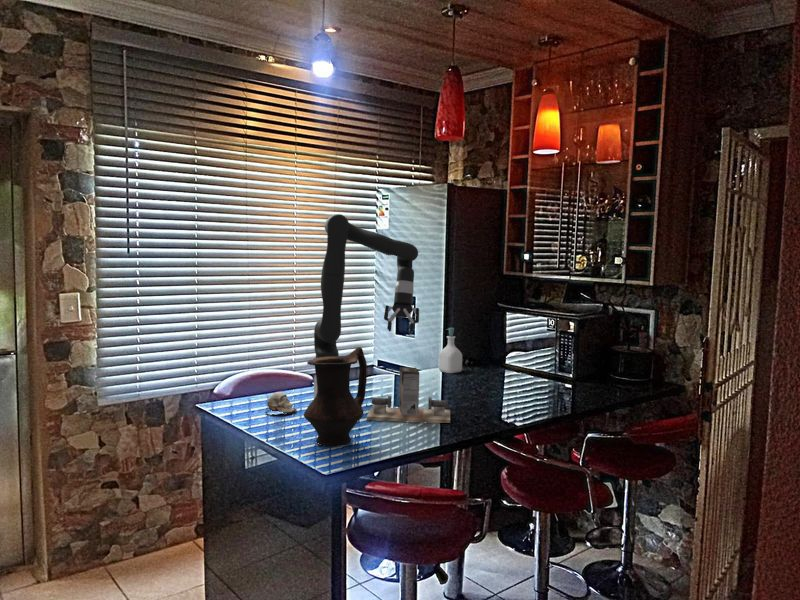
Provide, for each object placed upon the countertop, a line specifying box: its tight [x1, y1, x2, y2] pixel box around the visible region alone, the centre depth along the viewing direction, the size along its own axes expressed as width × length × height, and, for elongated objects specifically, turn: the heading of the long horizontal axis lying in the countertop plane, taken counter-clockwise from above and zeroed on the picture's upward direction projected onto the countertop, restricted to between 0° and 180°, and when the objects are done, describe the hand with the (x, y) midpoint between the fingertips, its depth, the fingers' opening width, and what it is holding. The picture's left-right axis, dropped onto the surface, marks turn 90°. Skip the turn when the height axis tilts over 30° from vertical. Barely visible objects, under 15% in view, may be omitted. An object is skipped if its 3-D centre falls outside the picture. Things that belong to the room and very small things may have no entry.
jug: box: [303, 346, 368, 447], centre depth 195 cm, size 21×18×30 cm
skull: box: [267, 391, 297, 415], centre depth 232 cm, size 12×10×10 cm
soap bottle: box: [438, 327, 463, 374], centre depth 316 cm, size 10×10×23 cm
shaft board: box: [366, 395, 451, 424], centre depth 228 cm, size 30×14×8 cm, turn 85°
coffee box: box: [398, 366, 420, 416], centre depth 228 cm, size 9×6×16 cm
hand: (400, 332), depth 251 cm, fingers open, 8 cm apart
